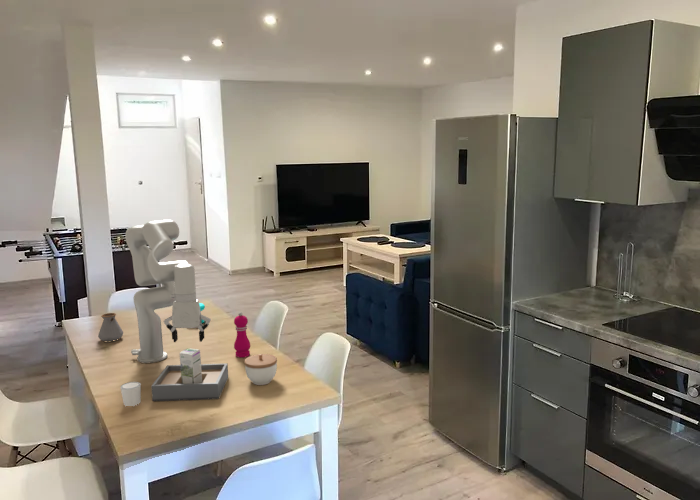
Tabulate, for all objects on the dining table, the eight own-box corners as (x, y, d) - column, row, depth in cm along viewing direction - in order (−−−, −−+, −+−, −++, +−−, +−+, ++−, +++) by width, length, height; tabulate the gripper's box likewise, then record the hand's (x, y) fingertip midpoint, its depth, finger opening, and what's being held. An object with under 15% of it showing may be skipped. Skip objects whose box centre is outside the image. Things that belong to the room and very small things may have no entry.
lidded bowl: (263, 390, 207) (262, 362, 205) (238, 383, 214) (237, 357, 212) (284, 378, 218) (283, 352, 216) (260, 372, 224) (259, 347, 223)
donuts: (188, 302, 299) (206, 302, 299) (189, 320, 301) (207, 319, 301) (182, 307, 289) (201, 307, 289) (184, 325, 291) (202, 325, 291)
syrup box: (203, 384, 212) (200, 348, 209) (194, 390, 206) (191, 354, 204) (190, 382, 214) (188, 347, 211) (181, 388, 208) (178, 352, 206)
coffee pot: (97, 338, 272) (94, 309, 269) (122, 334, 278) (119, 306, 275) (102, 351, 254) (99, 320, 251) (128, 346, 259) (125, 316, 257)
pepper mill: (247, 358, 241) (244, 314, 237) (231, 357, 242) (229, 314, 239) (253, 352, 248) (251, 310, 244) (238, 352, 249) (236, 309, 246)
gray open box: (152, 401, 200) (151, 385, 199) (168, 379, 219) (167, 365, 218) (218, 399, 200) (217, 383, 199) (228, 377, 220) (227, 363, 219)
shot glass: (125, 399, 201) (123, 381, 200) (144, 398, 202) (143, 380, 201) (119, 408, 195) (117, 389, 193) (139, 407, 195) (137, 388, 194)
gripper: (159, 300, 200) (162, 344, 203) (206, 299, 201) (209, 343, 204) (165, 295, 207) (168, 337, 210) (211, 294, 208) (213, 337, 211)
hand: (188, 340), depth 207 cm, fingers open, 9 cm apart
